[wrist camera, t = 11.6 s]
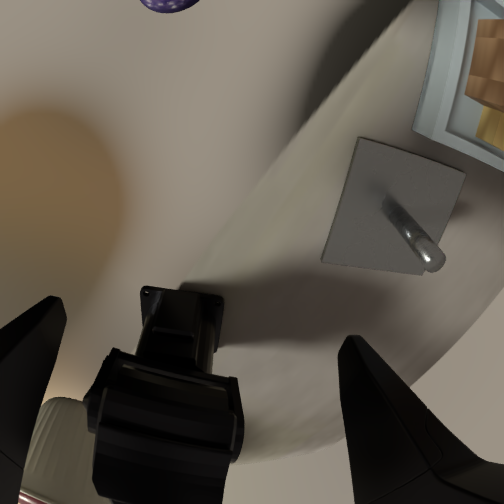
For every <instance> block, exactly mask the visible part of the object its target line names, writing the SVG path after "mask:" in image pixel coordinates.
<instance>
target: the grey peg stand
mask: <svg viewBox="0 0 504 504" xmlns="http://www.w3.org/2000/svg"><path fill="white" fill-rule="evenodd" d="M465 177H466V173H464V172H462V171H460V170H457V169H455V168H452V167H449V166H447V165H444V164H442V163H439V162H436V161H433V160H431V159H428V158H425V157H422V156H419V155H416V154H413V153H410V152H407V151H404V150H401V149H398V148H395V147H391V146H388V145H385V144H382V143H378V142H375V141H371V140H368V139H364V138H361V137H358V138H357V142H356V146H355V149H354V153H353V157H352V160H351V164H350V167H349V171H348V174H347V177H346V181H345V184H344V188H343V191H342V194H341V198H340V201H339V204H338V207H337V211H336V214H335V217H334V220H333V223H332V226H331V229H330V232H329V236H328V239H327V242H326V245H325V248H324V251H323V254H322V257H321V262H322V263H330V264H337V265H345V266H352V267H360V268H368V269H375V270H383V271H391V272H398V273H406V274H413V275H421V276H422V275H423V273H424V271H425V269H426V270H427V271H428V272H430V273H433V272H436V271H438V270H440V269H441V268H442V267H443V265H444V263H445V261H446V256H445V254H444V253H443V252H442V250H441V249H440V248H439V247H438V246H437V244H438V242H439V240H440V238H441V236H442V233H443V231H444V229H445V227H446V224H447V222H448V220H449V217H450V215H451V213H452V210H453V208H454V205H455V203H456V200H457V198H458V195H459V193H460V190H461V187H462V185H463V182H464V179H465Z"/></svg>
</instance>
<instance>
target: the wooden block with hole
mask: <svg viewBox="0 0 504 504" xmlns="http://www.w3.org/2000/svg"><path fill="white" fill-rule="evenodd" d="M464 95H466V96H468V97H469V98H471V99H473V100H475V101H476V102H478V103H480V104H482V105H483V110H482V114H481V117H480V121H479V125H478V128H477V132H476V135H475V137H477V138H479V139H481V140H483V141H485V142H487V143H489V144H490V145H492V146H494V147H496V148H498V149H500V150H502V151H504V19H478V24H477V31H476V38H475V44H474V50H473V55H472V61H471V66H470V71H469V75H468V80H467V84H466V89H465V93H464Z"/></svg>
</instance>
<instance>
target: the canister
mask: <svg viewBox="0 0 504 504" xmlns="http://www.w3.org/2000/svg"><path fill="white" fill-rule="evenodd" d="M94 443H95V434H93V433H90V432H88V428H87V412H86V410H85V409H84V407H83V405H82V401H78V400H76V399H71V398H66V397H54V398H51V399H49V400H48V401H46V402H45V403H44V404H43V405H42V406H41V407H40V410H39V414H38V417H37V420H36V424H35V427H34V431H33V435H32V439H31V442H30V446H29V450H28V454H27V459H26V463H25V468H24V473H23V478H22V483H21V488H20V494H19V500H18V502H19V503H20V504H111V502H110V501H109V499H108V498H104V497H101V496H99V495H98V494H97V491H96V489H95V487H94V484H93V482H92V473H93V469H92V462H93V452H94Z"/></svg>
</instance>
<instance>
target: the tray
mask: <svg viewBox="0 0 504 504" xmlns="http://www.w3.org/2000/svg"><path fill="white" fill-rule="evenodd" d="M478 19H504V0H439V5H438V12H437V18H436V25H435V30H434V36H433V42H432V47H431V52H430V57H429V62H428V66H427V71H426V75H425V80H424V84H423V88H422V92H421V96H420V100H419V104H418V108H417V112H416V116H415V119H414V123H413V126H412V130H413V131H415V132H417V133H419V134H421V135H423V136H425V137H427V138H429V139H431V140H434V141H436V142H439V143H441V144H444V145H446V146H449V147H451V148H453V149H456V150H458V151H460V152H463V153H465V154H467V155H469V156H472V157H474V158H476V159H478V160H480V161H482V162H484V163H486V164H488V165H491V166H493V167H495V168H497V169H499V170H500V171H502V172H504V151H502V150H500V149H498V148H496V147H494V146H492V145H490V144H489V143H487V142H485V141H483V140H481V139H479V138H477V137H475V135H476V132H477V128H478V125H479V121H480V117H481V114H482V110H483V105H482V104H480V103H478V102H476V101H475V100H473V99H471V98H469V97H468V96H466V95H464V93H465V89H466V84H467V80H468V75H469V71H470V66H471V61H472V55H473V50H474V44H475V38H476V31H477V24H478Z"/></svg>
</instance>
